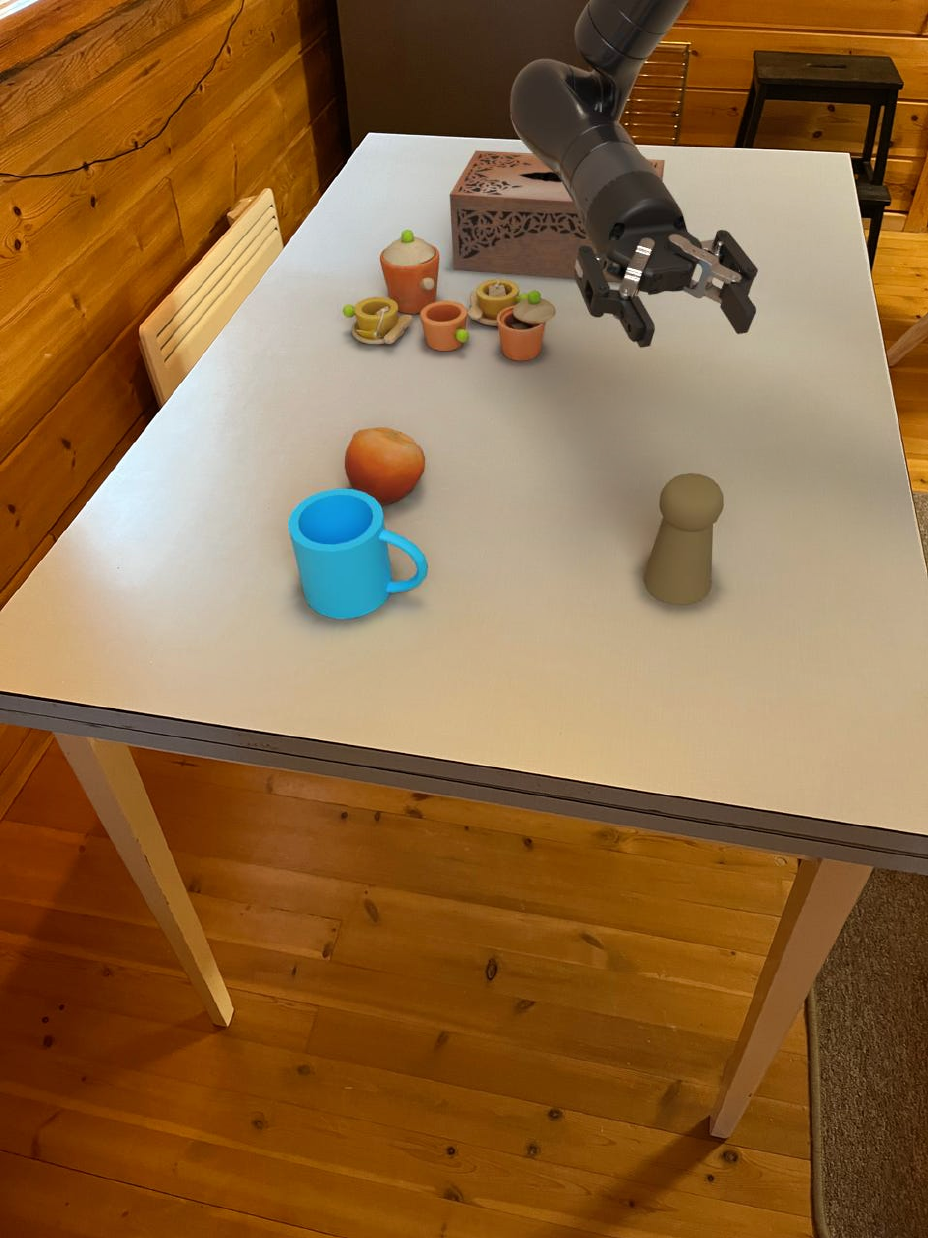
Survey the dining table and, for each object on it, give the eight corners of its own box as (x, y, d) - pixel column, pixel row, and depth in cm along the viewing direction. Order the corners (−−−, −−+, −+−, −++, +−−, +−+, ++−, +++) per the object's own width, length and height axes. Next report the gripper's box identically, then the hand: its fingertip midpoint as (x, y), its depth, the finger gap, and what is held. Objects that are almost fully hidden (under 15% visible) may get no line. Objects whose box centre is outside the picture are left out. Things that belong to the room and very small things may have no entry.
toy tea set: (336, 345, 114) (323, 270, 107) (382, 285, 123) (374, 212, 116) (542, 374, 107) (544, 296, 100) (573, 308, 117) (577, 233, 110)
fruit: (315, 489, 92) (337, 413, 89) (371, 489, 99) (393, 418, 95) (369, 526, 88) (394, 447, 85) (423, 523, 94) (448, 450, 91)
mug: (290, 610, 83) (272, 543, 77) (323, 550, 89) (308, 482, 83) (417, 633, 81) (409, 565, 75) (443, 569, 86) (437, 501, 80)
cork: (640, 557, 86) (653, 462, 78) (706, 557, 86) (726, 461, 78) (646, 605, 82) (660, 509, 74) (716, 604, 81) (737, 509, 73)
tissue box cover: (453, 269, 126) (449, 194, 118) (478, 222, 135) (475, 150, 128) (645, 283, 121) (653, 206, 113) (656, 234, 130) (664, 159, 123)
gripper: (555, 176, 77) (625, 303, 68) (711, 160, 79) (796, 280, 71) (542, 255, 83) (605, 380, 75) (687, 238, 86) (763, 356, 78)
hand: (698, 331), depth 73 cm, fingers open, 8 cm apart
